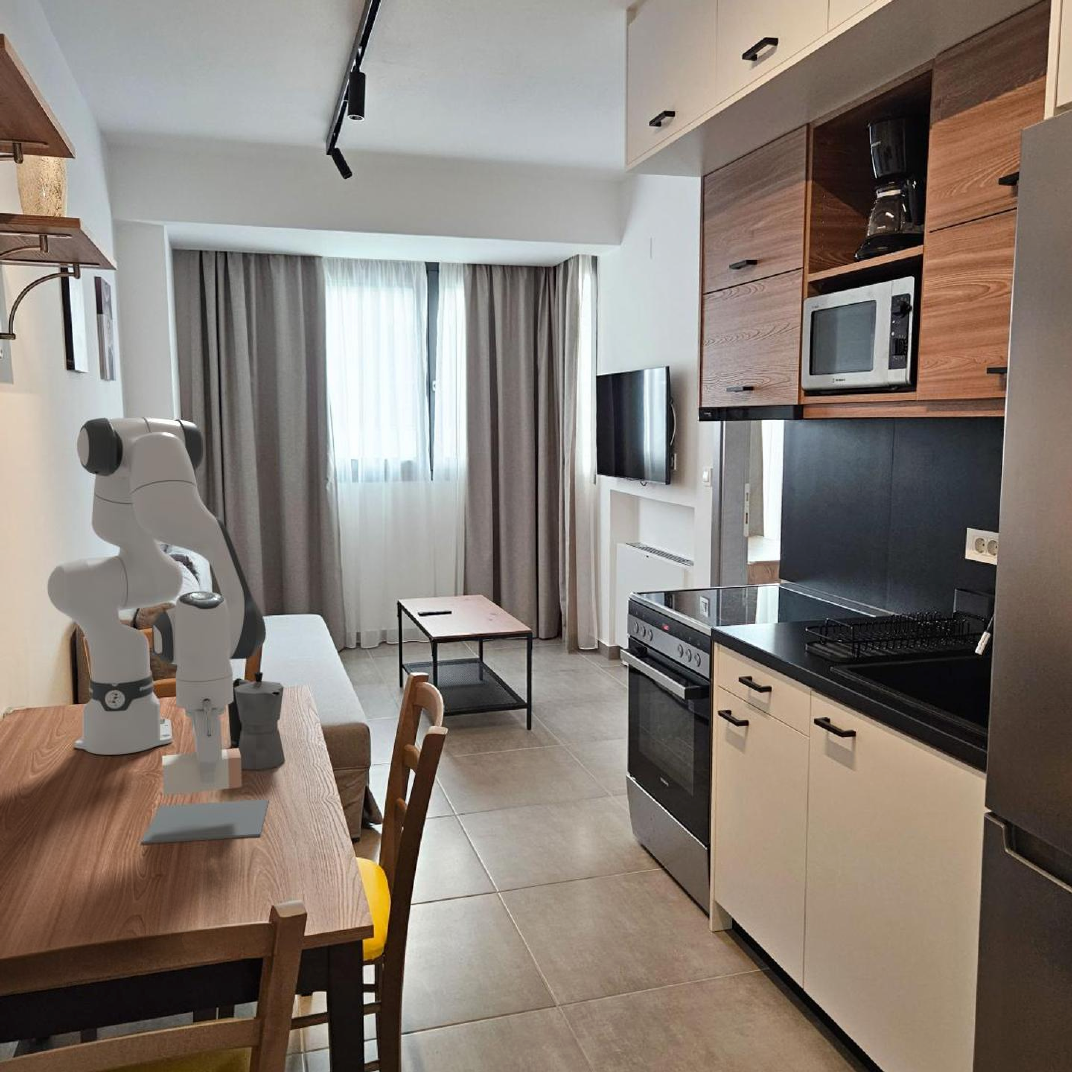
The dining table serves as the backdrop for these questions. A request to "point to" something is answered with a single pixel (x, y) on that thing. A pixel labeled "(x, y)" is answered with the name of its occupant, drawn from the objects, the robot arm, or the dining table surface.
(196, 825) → the mat
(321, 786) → the dining table surface
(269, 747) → the coffeepot
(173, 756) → the pillar
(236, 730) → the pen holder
